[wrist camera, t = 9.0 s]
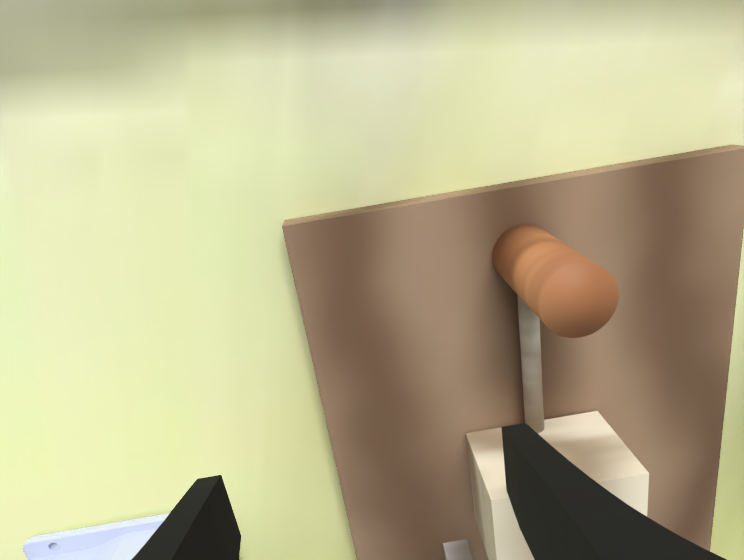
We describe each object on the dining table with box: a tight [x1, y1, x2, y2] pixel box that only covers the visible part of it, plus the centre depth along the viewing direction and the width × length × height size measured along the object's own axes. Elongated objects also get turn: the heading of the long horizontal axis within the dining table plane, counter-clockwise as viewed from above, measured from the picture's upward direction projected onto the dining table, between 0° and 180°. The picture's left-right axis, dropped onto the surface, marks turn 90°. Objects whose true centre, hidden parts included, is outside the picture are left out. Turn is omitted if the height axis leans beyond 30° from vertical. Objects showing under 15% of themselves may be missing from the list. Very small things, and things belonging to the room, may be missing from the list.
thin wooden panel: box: [282, 145, 744, 560], centre depth 25 cm, size 18×36×2 cm, turn 9°
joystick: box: [466, 224, 649, 560], centre depth 19 cm, size 6×14×5 cm, turn 9°
